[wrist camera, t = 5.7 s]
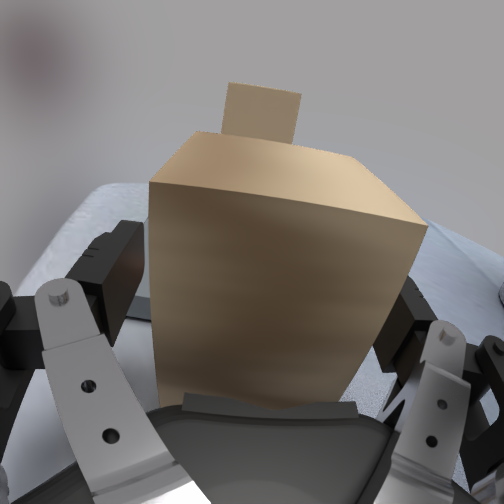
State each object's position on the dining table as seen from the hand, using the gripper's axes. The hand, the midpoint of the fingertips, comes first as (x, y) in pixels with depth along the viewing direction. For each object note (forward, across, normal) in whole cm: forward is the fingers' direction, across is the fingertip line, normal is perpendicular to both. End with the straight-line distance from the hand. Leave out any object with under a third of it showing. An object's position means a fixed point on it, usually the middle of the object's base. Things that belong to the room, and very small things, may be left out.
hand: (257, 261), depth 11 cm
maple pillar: (-2, 0, +6) cm, 6 cm away
